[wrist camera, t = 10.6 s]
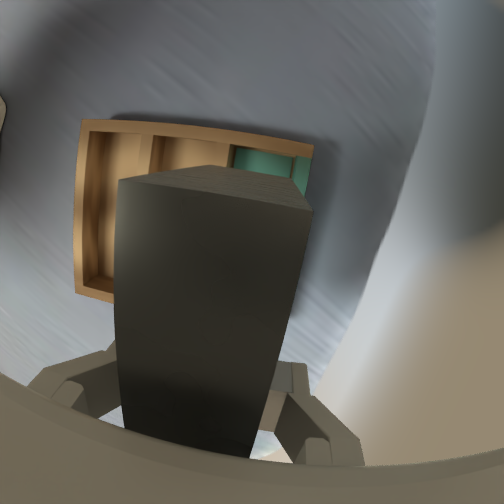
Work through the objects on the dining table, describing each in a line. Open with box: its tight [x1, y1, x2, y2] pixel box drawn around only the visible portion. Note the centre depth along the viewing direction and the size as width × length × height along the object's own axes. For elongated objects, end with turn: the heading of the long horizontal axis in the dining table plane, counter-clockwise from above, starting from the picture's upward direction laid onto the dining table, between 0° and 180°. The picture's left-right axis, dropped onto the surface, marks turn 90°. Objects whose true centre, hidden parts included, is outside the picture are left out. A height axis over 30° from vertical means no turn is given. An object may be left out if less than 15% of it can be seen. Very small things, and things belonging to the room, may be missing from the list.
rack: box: [73, 119, 314, 304], centre depth 26 cm, size 16×19×4 cm
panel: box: [113, 165, 314, 458], centre depth 10 cm, size 12×3×7 cm, turn 170°
